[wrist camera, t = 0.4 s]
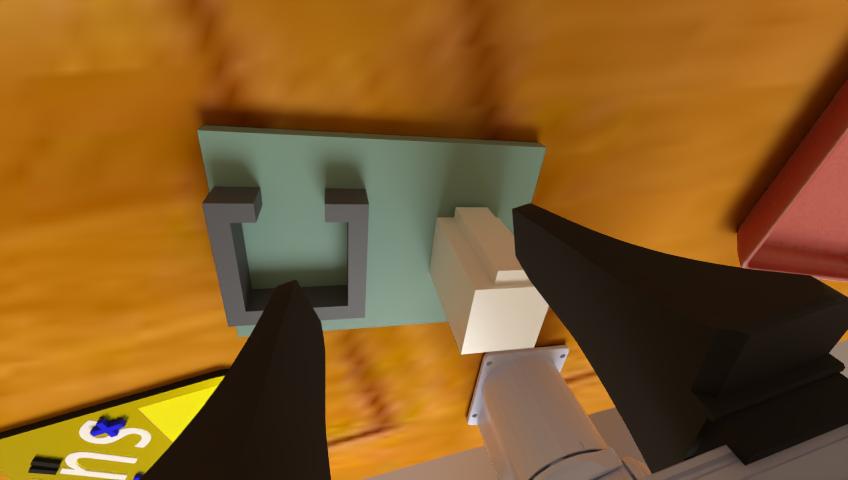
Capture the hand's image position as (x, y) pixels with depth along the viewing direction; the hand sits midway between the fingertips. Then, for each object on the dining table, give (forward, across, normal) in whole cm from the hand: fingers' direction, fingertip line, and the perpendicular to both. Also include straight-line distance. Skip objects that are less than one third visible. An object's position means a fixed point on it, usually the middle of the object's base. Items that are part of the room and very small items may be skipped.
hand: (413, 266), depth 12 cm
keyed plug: (+9, -4, +7) cm, 12 cm away
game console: (+10, +22, +17) cm, 30 cm away
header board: (+10, +1, +6) cm, 11 cm away
